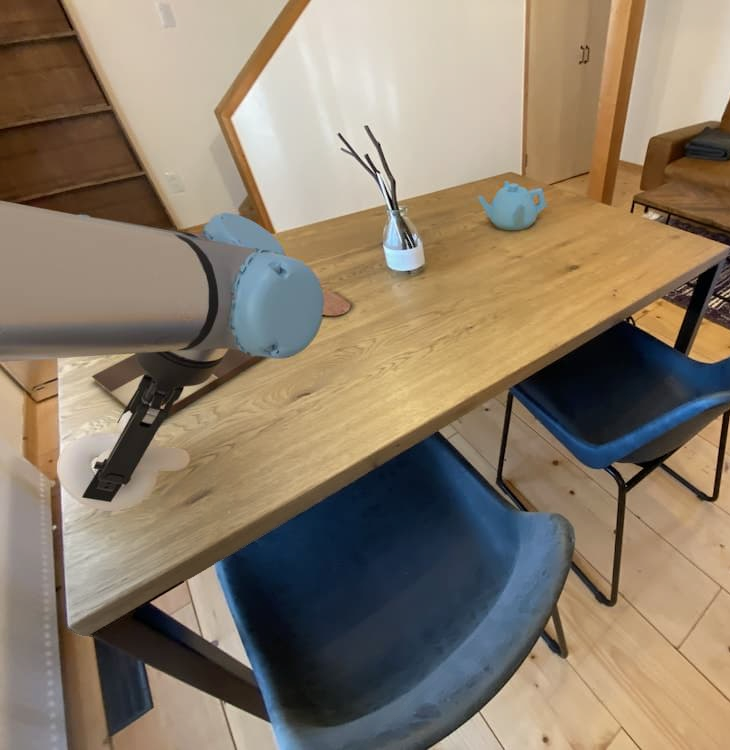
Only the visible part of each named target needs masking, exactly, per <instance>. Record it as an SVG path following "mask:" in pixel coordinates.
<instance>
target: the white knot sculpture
mask: <svg viewBox="0 0 730 750" xmlns="http://www.w3.org/2000/svg"><path fill="white" fill-rule="evenodd" d="M121 415H122V414H121ZM131 415H132V413H131V412H130V411H128V412H126V413H125V414H123V415H122V417H121V416H120V417H121V419H120V421H119V423H117V428H116V431H115V433H111V432H96V433H90V434H87V435H84V436H81V437H79V438H76V439H74V440H72V441H71V442H69V444H67V445H65V447H64V448H63V450H61V453H60V454H59V457H58V459H57V462H56V474H57V477H58V481H59V483H60V484H61V486H62V488H63V490H64V491H65V492H66V493H67V494H68V495H69V496H70V497H71V498H72V499H74V500H75V501H77V502H78V503H80V504H81V505H84V506H86V507H88V508H90V509H95V510H98V511H103V512H119V511H124V510H128V509H132V508H133V507H135V506H137V505H140V504H141V503H142V502H144V501H145V500H146V499H147V498H148V497H149V496H150V495H151V493H152V492H153V490H154V488H155V486H156V484H157V481H158V478H159V471H165V472H177V471H181V470H183V469H184V468H185V467H187V466H188V465H189V462H190V454H189V453H188V452H187V451H186V450H185V449H182V448H178V447H173V446H165V445H161V444H157V443H156V440H155V436H154V437H153V439H152V441H151V442H150V444H149V446H148V448H147V449H146V451H145V453H144V455H143V456H142V458H141V460H140V462H139V463H138V465H137V467H136V469H135V470H134V472H133V474H132V476H131V480H130V482H128V484H126V485H123V484H122V486H121V487H120V489H119V490H118V492H117V493H116V495H115V496H114V498H113V499H112V501H111V502H106V501H100V500H94V499H88V498H82V496H83V494H84V492H85V490H86V489H87V487H88V486H89V484H90V482H91V481H92V479H93V477H94V476H95V474H96V473H97V471H98V469H94V470H93V467H94V466H95V464H96V462H97V461H98V462H103V461H104V460H105V459H108V457H109V455H110V453H111V451H112V450H113V448H114V446H115V444H116V442H117V440H118V439H119V437H120V435H121V433H122V431H123V429H124V428H125V426H126V424H127V422H128V420H129V418H130V417H131ZM95 458H96V460H95V463H94V465H93V467H92V462H93V460H94V459H95ZM95 472H96V473H95Z"/></svg>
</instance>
